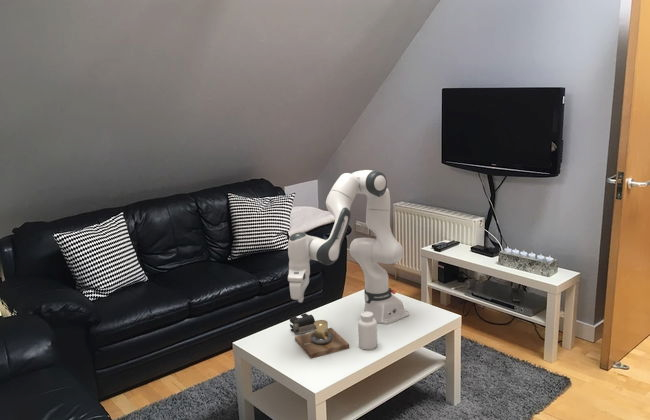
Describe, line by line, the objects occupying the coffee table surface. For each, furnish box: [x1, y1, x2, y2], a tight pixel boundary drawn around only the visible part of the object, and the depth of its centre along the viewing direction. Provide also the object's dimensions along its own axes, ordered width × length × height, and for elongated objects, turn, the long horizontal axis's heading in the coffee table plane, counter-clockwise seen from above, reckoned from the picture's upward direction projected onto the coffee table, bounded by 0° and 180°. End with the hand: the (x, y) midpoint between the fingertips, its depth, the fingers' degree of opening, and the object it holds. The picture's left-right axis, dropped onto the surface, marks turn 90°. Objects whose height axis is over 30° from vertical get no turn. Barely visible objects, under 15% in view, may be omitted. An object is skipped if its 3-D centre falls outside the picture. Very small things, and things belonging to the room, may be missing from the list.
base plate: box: [294, 327, 350, 359], centre depth 247 cm, size 18×18×2 cm
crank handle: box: [292, 319, 329, 340], centre depth 243 cm, size 16×10×8 cm, turn 115°
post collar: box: [311, 332, 332, 345], centre depth 246 cm, size 9×9×2 cm
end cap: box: [289, 313, 316, 333], centre depth 260 cm, size 10×7×7 cm
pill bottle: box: [357, 311, 378, 351], centre depth 242 cm, size 8×8×15 cm
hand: (301, 301), depth 243 cm, fingers closed
